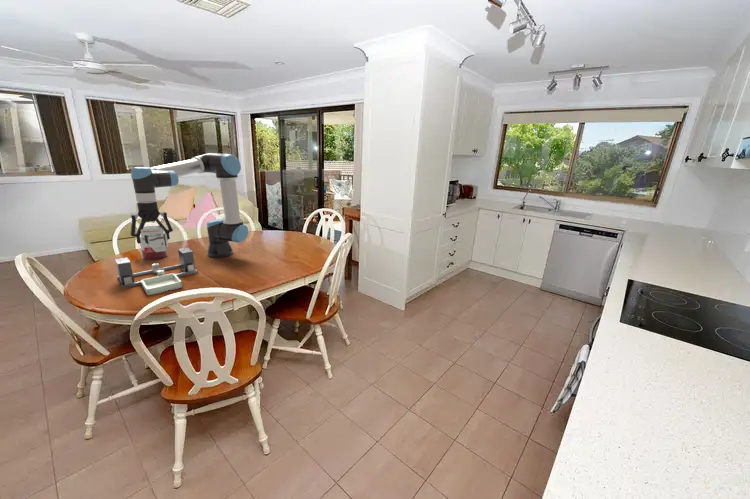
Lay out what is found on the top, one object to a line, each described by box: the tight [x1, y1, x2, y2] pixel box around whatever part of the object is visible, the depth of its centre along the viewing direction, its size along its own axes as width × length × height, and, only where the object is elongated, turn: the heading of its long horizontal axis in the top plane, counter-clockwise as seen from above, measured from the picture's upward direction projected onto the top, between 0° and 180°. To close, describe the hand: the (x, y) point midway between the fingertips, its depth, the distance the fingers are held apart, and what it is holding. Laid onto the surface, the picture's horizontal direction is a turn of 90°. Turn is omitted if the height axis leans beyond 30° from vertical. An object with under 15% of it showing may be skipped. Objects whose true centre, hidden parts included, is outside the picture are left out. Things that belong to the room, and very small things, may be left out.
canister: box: [139, 234, 168, 261], centre depth 193 cm, size 13×13×18 cm
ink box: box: [140, 225, 167, 253], centre depth 149 cm, size 8×5×12 cm, turn 123°
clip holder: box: [114, 247, 199, 290], centre depth 166 cm, size 34×15×12 cm, turn 135°
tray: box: [140, 272, 183, 296], centre depth 156 cm, size 15×15×3 cm
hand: (155, 247), depth 150 cm, fingers closed on ink box, 9 cm apart
